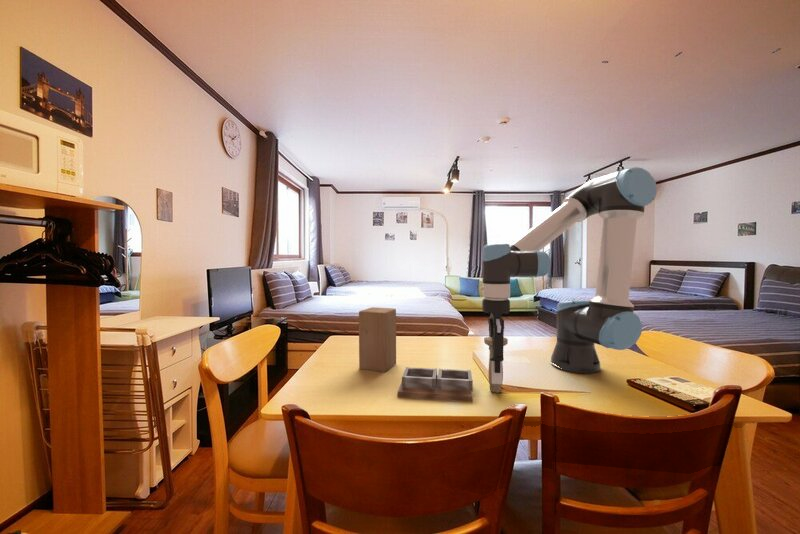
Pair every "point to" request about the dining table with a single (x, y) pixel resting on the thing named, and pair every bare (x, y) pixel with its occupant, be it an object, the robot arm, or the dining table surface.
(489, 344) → the handle
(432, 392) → the grey double square tray
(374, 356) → the wooden block
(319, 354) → the dining table surface
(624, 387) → the dining table surface
